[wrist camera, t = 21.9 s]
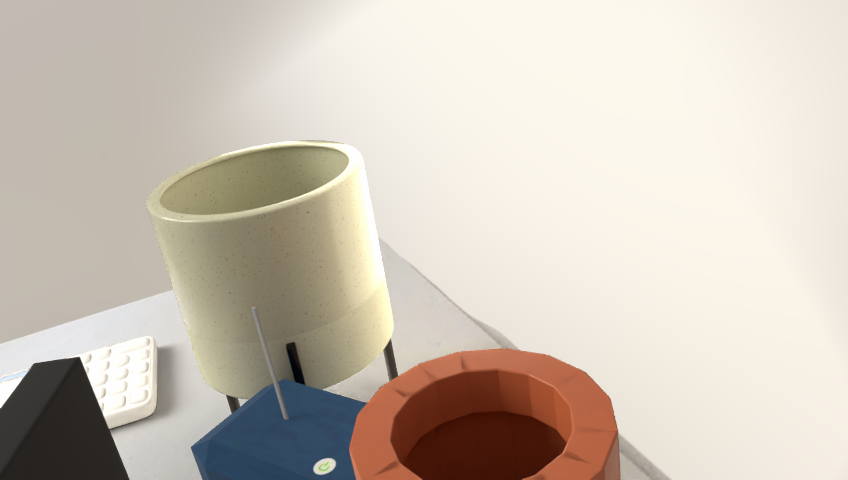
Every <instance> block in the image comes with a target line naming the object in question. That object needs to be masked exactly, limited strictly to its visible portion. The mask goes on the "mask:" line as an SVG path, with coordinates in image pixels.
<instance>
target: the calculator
mask: <svg viewBox="0 0 848 480" xmlns="http://www.w3.org/2000/svg"><path fill="white" fill-rule="evenodd" d="M157 355H158V349H157V344H156V341H155V339H154V338H153V337H151V336H147V337H142V338H138V339H134V340H130V341H127V342H123V343H119V344H116V345H112V346H108V347H105V348H101V349H98V350H94V351H90V352H87V353H83V354H80V355H76V356H72V357H69V358H73V357H79V356H80V358H81V361H82V363H83V366H84V368H85V371H86V373H87V376H88V378H89V381H90V383H91V386H92V388H93V391H94V393H95V396H96V398H97V401H98V403H99V405H100V408H101V410H102V413H103V415H104V418H105V420H106V423H107V425H108V428H109V429H111V428H114V427H117V426H121V425H124V424H127V423H131V422H134V421H137V420H140V419H143V418H145V417H148V416H149V415H151V414H152V413H153V412H154V410H155V408H156V402H157ZM65 359H66V358H65ZM29 370H30V368H29V369H25V370H22V371H18V372H15V373H11V374H7V375H4V376H0V408H1V407H2V405H3V404H4V403H5V401H6V400H7V399H8V398H9V396H10V395H11V394H12V392H13V391H14V390H15V388H16V387H17V386H18V384H19V383H20V382H21V380H22V379H23V378H24V376H25V375H26V374H27V372H28V371H29Z"/></svg>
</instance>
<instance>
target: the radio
mask: <svg viewBox="0 0 848 480" xmlns="http://www.w3.org/2000/svg"><path fill="white" fill-rule="evenodd" d="M251 309H252V312H253V316H254V319H255V323H256V326H257V329H258V333H259V336H260V339H261V343H262V346H263V350H264V353H265V356H266V360H267V363H268V367H269V370H270V373H271V377H272V380H273V384H271V385H269V386H267V387H265V388H263V389H262V390H261V391H259V392H258V393H257V394H256V395H254V396H253V397H252V398H251V399H249V400H248V401H247V402H246V403H245V404H243V405H242V406H241V407H240V408H238V409H237V410H236V411H235V412H233V413H232V414H231V415H230V416H229V417H227V418H226V419H225V420H224V421H222V422H221V423H220V424H219V425H218V426H216V427H215V428H214V429H213V430H211V431H210V432H209V433H208V434H206V435H205V436H204V437H203V438H202V439H200V440H199V441H198V442H197V443H195V444H194V445H193V446H192V447H191V449H192V452H193V455H194V457H195V460H196V463H197V465H198V468H199V471H200V474H201V476H202V479H203V480H356V477H355V473H354V469H353V465H352V461H351V456H350V452H349V447H350V443H351V439H352V435H353V431H354V427H355V423H356V419H357V416H358V414H359V412H360V411H361V410H362V409H363V408H364V406H365V405H366V404H367V403H364V402H361V401H357V400H354V399H351V398H347V397H344V396H340V395H337V394H334V393H330V392H327V391H323V390H320V389H317V388H313V387H310V386H306V385H303V384H300V383H296V382H293V381H290V380H286V379H282V380H280V381H278V380H277V377H276V374H275V370H274V367H273V363H272V360H271V356H270V353H269V350H268V346H267V343H266V339H265V336H264V333H263V329H262V326H261V322H260V319H259V315H258V312H257V309H256V307H251Z"/></svg>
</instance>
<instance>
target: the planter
mask: <svg viewBox="0 0 848 480" xmlns="http://www.w3.org/2000/svg"><path fill="white" fill-rule="evenodd" d="M146 207H147V210H148V213H149V216H150V219H151V222H152V225H153V228H154V231H155V234H156V238H157V241H158V244H159V247H160V250H161V253H162V256H163V259H164V262H165V265H166V268H167V271H168V274H169V277H170V280H171V283H172V286H173V290H174V293H175V296H176V299H177V302H178V305H179V308H180V311H181V314H182V317H183V320H184V323H185V326H186V329H187V332H188V336H189V339H190V342H191V345H192V348H193V351H194V354H195V357H196V360H197V363H198V366H199V369H200V372H201V375H202V377H203V378H204V380H205V381H206V382H207V383H208V384H209V385H210V386H211V387H212V388H214V389H215V390H217V391H219V392H221V393H223V394H226V397H227V400H228V403H229V406H230V409H231V412H232V413H233V412H235V411H236V410H237V409H238V408H240V404H239V401H238V398H241V399H248V400H249V399H251V398H252V397H253V396H254V395H256V394H257V393H258V392H259V391H261V390H262V389H263V388H265V387H267V386H269V385H271V384H273V380H272V377H271V373H270V370H269V367H268V363H267V360H266V356H265V353H264V350H263V346H262V343H261V339H260V336H259V333H258V329H257V326H256V323H255V319H254V316H253V312H252V309H251V307H256V309H257V312H258V315H259V319H260V322H261V326H262V329H263V333H264V336H265V339H266V343H267V346H268V350H269V353H270V356H271V360H272V363H273V367H274V370H275V374H276V377H277V380H278V381H280V380H282V379H286V380H290V381H293V382H296V383H300V384H303V385H306V386H310V387H313V388H317V389H320V390H321V389H324V388H327V387H330V386H332V385H334V384H337V383H339V382H341V381H343V380H345V379H347V378H349V377H351V376H352V375H354V374H356V373H357V372H359V371H360V370H362V369H363V368H365V367H366V366H367V365H369V364H370V363H371V362H372V361H373V360H374V359H375V358H376V357H377V356H378V355H379V354H380V353H381V352H382V351H384V356H385V361H386V366H387V371H388V376H389V381H392V380H393V379H395V378H396V377H398V373H397V368H396V363H395V358H394V353H393V348H392V342H391V335H392V332H393V317H392V311H391V306H390V301H389V296H388V290H387V285H386V280H385V275H384V270H383V264H382V259H381V254H380V248H379V243H378V238H377V233H376V228H375V223H374V217H373V212H372V207H371V201H370V196H369V191H368V185H367V180H366V175H365V170H364V164H363V159H362V156H361V154H360V153H359V152H358V151H357V150H356V149H355V148H353V147H351V146H348V145H346V144H342V143H338V142H331V141H315V140H309V141H290V142H281V143H273V144H267V145H261V146H256V147H251V148H247V149H243V150H238V151H235V152H231V153H227V154H224V155H221V156H217V157H214V158H211V159H208V160H206V161H203V162H200V163H198V164H195V165H193V166H191V167H189V168H186V169H184V170H182V171H180V172H178V173H176V174H174V175H173V176H171V177H169V178H168V179H166V180H165V181H163V182H162V183H161V184H159V185H158V186H157V187H156V188H155V189H154V190H153V191H152V192H151V193H150V195H149V197H148V199H147V202H146Z"/></svg>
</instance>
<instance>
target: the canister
mask: <svg viewBox="0 0 848 480" xmlns="http://www.w3.org/2000/svg"><path fill="white" fill-rule="evenodd" d="M349 452H350V456H351V461H352V465H353V469H354V473H355V477H356V480H620V460H619V439H618V429H617V425H616V420H615V416H614V411H613V407H612V403H611V399H610V398H609V396H608V395H607V394H606V393H605V392H604V391H603V390H602V389H601V388H600V387H599V386H598V385H597V384H596V383H595V382H594V381H593V379H592V378H591V377H590V376H589V375H588V374H587V373H586V372H584V371H582V370H580V369H578V368H576V367H574V366H571V365H569V364H567V363H565V362H563V361H560V360H558V359H556V358H554V357H551V356H549V355H545V354H540V353H533V352H527V351H520V350H514V349H507V348H506V349H503V348H500V349H487V350H474V351H462V352H456V353H453V354H449V355H446V356H443V357H440V358H436V359H433V360H430V361H427V362H423V363H420V364H418V365H417V366H415V367H413V368H411V369H410V370H408V371H406V372H405V373H403V374H401V375H400V376H398V377H396V378H395V379H393V380H392V381H390V382H388V383H387V384H385V385H384V386H382V387H381V388H380V389H379V390H378V391H377V392H376V393H375V395H374V396H373V397H372V398H371V399H370V401H369V402H368V403H367V404H366V405H365V406H364V408H363V409H362V410H361V411H360V412H359V414H358V416H357V419H356V423H355V427H354V431H353V435H352V439H351V443H350V447H349Z"/></svg>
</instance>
